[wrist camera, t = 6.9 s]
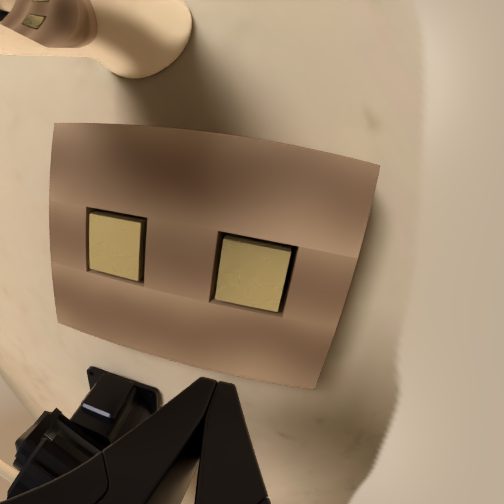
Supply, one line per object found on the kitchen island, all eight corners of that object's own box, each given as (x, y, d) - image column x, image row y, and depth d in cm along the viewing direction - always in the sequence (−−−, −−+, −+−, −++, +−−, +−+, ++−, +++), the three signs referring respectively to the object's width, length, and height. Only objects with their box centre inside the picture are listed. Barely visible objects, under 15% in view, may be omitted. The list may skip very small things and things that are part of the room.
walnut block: (311, 348, 20) (313, 389, 16) (89, 296, 21) (57, 322, 17) (360, 161, 16) (380, 165, 12) (94, 124, 17) (54, 123, 13)
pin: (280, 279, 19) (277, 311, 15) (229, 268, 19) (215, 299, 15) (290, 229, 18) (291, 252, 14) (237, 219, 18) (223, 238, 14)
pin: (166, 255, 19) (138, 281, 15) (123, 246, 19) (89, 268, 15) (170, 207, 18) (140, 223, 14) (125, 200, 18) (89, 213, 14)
